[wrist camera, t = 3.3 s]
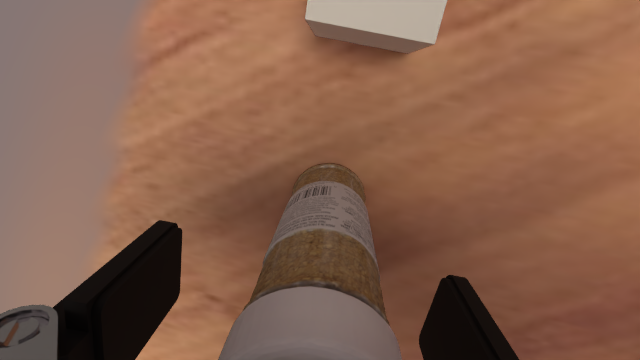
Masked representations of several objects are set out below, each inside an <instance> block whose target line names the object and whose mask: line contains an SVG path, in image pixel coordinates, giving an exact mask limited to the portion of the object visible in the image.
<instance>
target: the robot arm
mask: <svg viewBox="0 0 640 360" xmlns="http://www.w3.org/2000/svg"><path fill="white" fill-rule="evenodd" d="M181 251H182V229H181V228H178V225H177V224H176V223H172V222H167V221H161V220H159V221H157V222H156V223H155V224H154V225H152V226H151V227H150V228H149V229H148V230H146V231H145V232H144V233H143V234H142V235H140V236H139V237H138V238H137V239H135V240H134V241H133V242H132V243H131V244H129V245H128V246H127V247H126V248H125V249H123V250H122V251H121V252H120V253H118V254H117V255H116V256H115V257H114V258H112V259H111V260H110V261H109V262H107V263H106V264H105V265H104V266H103V267H101V268H100V269H99V270H98V271H97V272H95V273H94V274H93V275H92V276H90V277H89V278H88V279H87V280H86V281H84V282H83V283H82V284H81V285H80V286H78V287H77V288H76V289H75V290H73V291H72V292H71V293H70V294H69V295H67V296H66V297H65V298H64V299H63V300H61V301H60V302H59V303H58V304H57V305H55V306H54V307H53V308H51V307H49V306H45V305H29V306H22V307H18V308H15V309H12V310H8V311H6V312H4V313H2V314H0V360H135V359H136V357H137V356H138V355H139V353H140V352H141V350H142V349H143V348H144V346H145V345H146V343H147V342H148V340H149V339H150V338H151V336H152V335H153V333H154V332H155V330H156V329H157V328H158V326H159V325H160V323H161V322H162V321H163V319H164V318H165V316H166V315H167V313H168V312H169V311H170V309H171V308H172V306H173V305H174V303H175V302H176V300H177V299H178V296H179V293H180V277H181ZM419 345H420V349H421V352H422V355H423V358H424V360H519V359H518V357H517V355H516V354H515V352H514V351H513V349H512V348H511V346H510V345H509V343H508V342H507V340H506V338H505V337H504V335H503V334H502V332H501V331H500V329H499V328H498V326H497V324H496V323H495V321H494V320H493V318H492V317H491V315H490V314H489V312H488V311H487V309H486V307H485V306H484V304H483V303H482V301H481V300H480V298H479V297H478V295H477V293H476V292H475V290H474V289H473V287H472V286H471V284H470V283H469V281H468V280H467V279H466V278H464V277H459V276H453V275H448V276H447V277H446V278H442V279H441V281H440V283H439V286H438V289H437V291H436V294H435V296H434V299H433V302H432V304H431V307H430V309H429V312H428V315H427V317H426V320H425V322H424V325H423V328H422V330H421V333H420V336H419Z"/></svg>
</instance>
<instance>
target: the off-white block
mask: <svg viewBox="0 0 640 360" xmlns="http://www.w3.org/2000/svg"><path fill="white" fill-rule="evenodd" d="M446 3H447V0H308V2H307V9H306V16H305V20H306V22H307V23H308V25H309V26H310V28H311V30H312V31H313V33H314V34H315V36H319V37H324V38H329V39H334V40H340V41H345V42H350V43H355V44H360V45H365V46H371V47H376V48H381V49H386V50H391V51H396V52H401V53H407V54H408V53H411V52H414V51H417V50H420V49H423V48H425V47H428V46H431V45H434V44H435V41H436V38H437V34H438V31H439V27H440V24H441V20H442V17H443V13H444V10H445V6H446Z"/></svg>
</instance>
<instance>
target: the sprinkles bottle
mask: <svg viewBox="0 0 640 360" xmlns="http://www.w3.org/2000/svg"><path fill="white" fill-rule="evenodd" d="M218 360H402V357H401V352H400V348H399V344H398V341H397V339H396V337H395V334H394V332H393V331H392V329H391V328H390V325H389V322H388V320H387V316H386V313H385V308H384V304H383V297H382V292H381V287H380V274H379V268H378V264H377V259H376V254H375V248H374V243H373V238H372V233H371V227H370V222H369V217H368V212H367V208H366V206H365V194H364V188H363V185H362V183H361V181H360V180H359V178H358V177H357V176H356V174H355V173H353V172H352V171H350V170H349V169H348V168H346V167H343V166H341V165H337V164H331V163H326V164H319V165H317V166H313V167H311V168H309V169H308V170H307V171H305V172H304V173H303V174H302V175H301V176H300V177H299V179H298V181H297V182H296V183H295V185H294V188H293V193H292V197H291V198H290V200H289V202H288V204H287V206H286V208H285V210H284V213H283V215H282V217H281V220H280V222H279V224H278V227H277V229H276V231H275V234H274V236H273V239H272V241H271V243H270V246H269V248H268V250H267V253H266V255H265V258H264V261H263V268H262V271H261V274H260V276H259V279H258V282H257V285H256V287H255V289H254V292H253V294H252V297H251V299H250V302H249V303H248V304H247V305H246V306H245V308H244V310H243V312H242V313H241V314H240V316H239V317H238V318H237V319H236V321H235V323H234V324H233V326H232V328H231V330H230V333H229V335H228V337H227V340H226V342H225V345H224V347H223V349H222V352H221V354H220V357H219V359H218Z"/></svg>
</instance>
